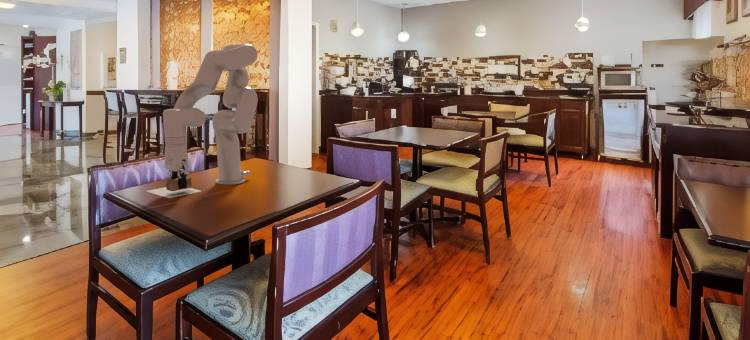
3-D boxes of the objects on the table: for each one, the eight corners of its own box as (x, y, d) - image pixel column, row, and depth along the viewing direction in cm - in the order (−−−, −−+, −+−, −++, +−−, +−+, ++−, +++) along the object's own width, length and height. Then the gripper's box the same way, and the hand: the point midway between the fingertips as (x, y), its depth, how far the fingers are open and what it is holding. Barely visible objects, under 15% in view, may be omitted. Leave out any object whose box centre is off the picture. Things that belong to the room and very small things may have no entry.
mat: (178, 185, 195) (178, 184, 195) (202, 192, 184) (202, 190, 184) (145, 192, 184) (145, 190, 184) (168, 199, 173) (168, 198, 173)
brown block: (166, 189, 179) (165, 179, 178) (185, 186, 185) (185, 176, 184) (172, 191, 176) (171, 181, 175) (191, 187, 182) (191, 177, 181)
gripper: (155, 140, 179) (159, 185, 183) (177, 144, 169) (181, 192, 172) (173, 138, 185) (177, 182, 188) (196, 142, 175) (199, 188, 178)
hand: (179, 186), depth 180 cm, fingers closed on brown block, 4 cm apart
